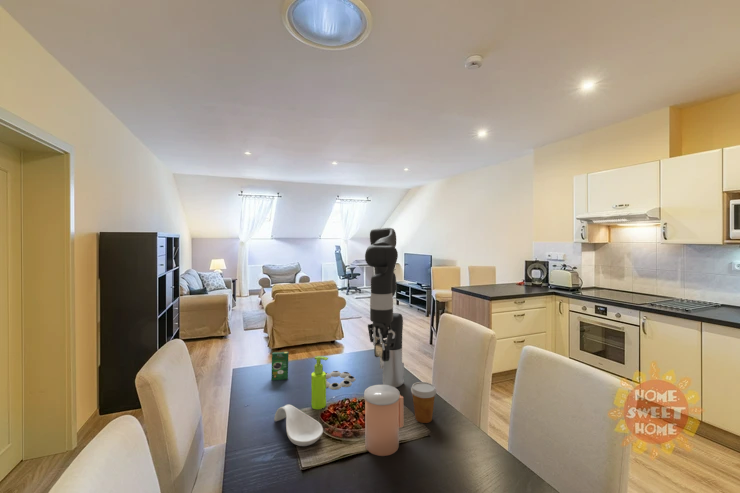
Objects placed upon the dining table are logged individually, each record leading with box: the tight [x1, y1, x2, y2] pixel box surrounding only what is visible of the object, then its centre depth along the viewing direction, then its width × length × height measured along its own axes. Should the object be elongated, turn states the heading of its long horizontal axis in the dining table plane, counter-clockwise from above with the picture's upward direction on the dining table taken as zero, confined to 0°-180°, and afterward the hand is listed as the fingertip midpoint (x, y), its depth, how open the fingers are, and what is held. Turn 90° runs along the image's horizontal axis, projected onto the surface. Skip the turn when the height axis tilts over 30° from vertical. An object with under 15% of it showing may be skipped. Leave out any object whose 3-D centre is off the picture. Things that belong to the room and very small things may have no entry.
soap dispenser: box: [310, 355, 329, 410], centre depth 128 cm, size 6×7×20 cm
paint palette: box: [325, 370, 356, 390], centre depth 151 cm, size 20×20×2 cm
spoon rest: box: [273, 404, 324, 447], centre depth 110 cm, size 24×12×7 cm, turn 45°
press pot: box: [363, 384, 405, 457], centre depth 103 cm, size 14×12×17 cm
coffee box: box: [271, 351, 290, 382], centre depth 153 cm, size 8×3×13 cm, turn 103°
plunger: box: [376, 343, 386, 370], centre depth 103 cm, size 4×4×7 cm
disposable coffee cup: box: [410, 381, 437, 424], centre depth 118 cm, size 10×10×12 cm
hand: (381, 358), depth 103 cm, fingers closed on plunger, 4 cm apart
